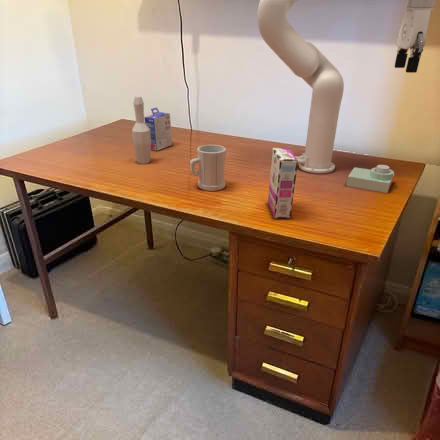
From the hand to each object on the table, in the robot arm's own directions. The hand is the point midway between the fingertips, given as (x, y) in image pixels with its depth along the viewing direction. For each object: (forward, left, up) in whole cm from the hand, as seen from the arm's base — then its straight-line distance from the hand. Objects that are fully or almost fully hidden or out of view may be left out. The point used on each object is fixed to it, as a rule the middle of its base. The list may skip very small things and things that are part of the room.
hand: (405, 70), depth 135 cm
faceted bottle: (-84, +14, -32) cm, 91 cm away
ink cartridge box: (-79, +32, -32) cm, 91 cm away
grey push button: (-6, -13, -28) cm, 31 cm away
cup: (-61, -12, -32) cm, 70 cm away
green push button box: (-9, -12, -32) cm, 35 cm away
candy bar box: (-42, -31, -32) cm, 62 cm away
